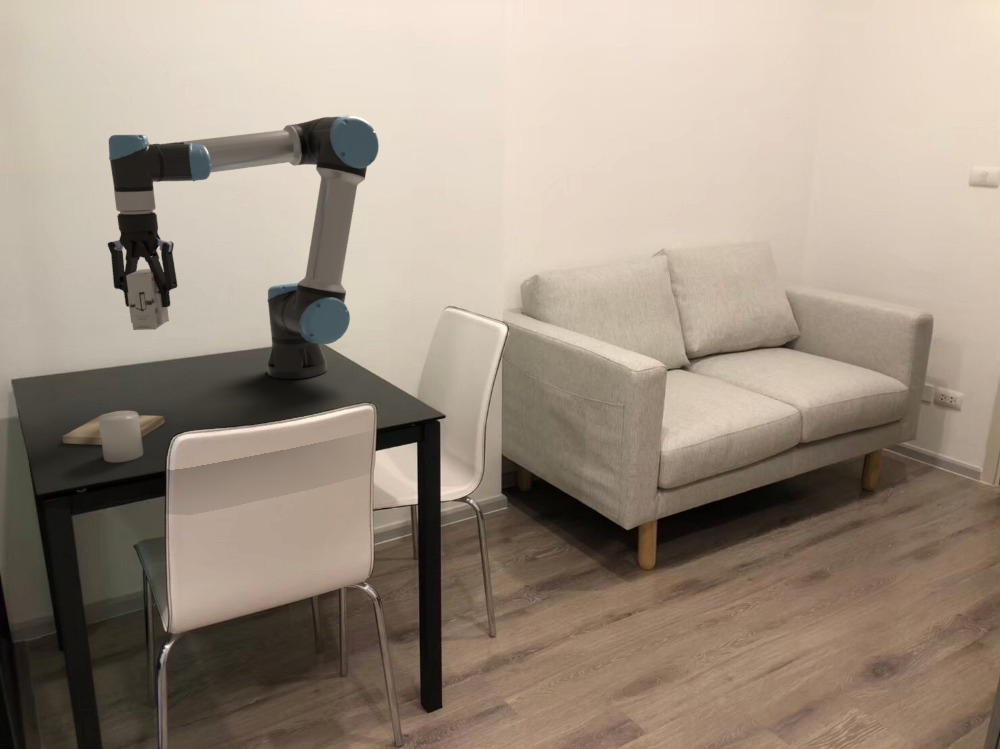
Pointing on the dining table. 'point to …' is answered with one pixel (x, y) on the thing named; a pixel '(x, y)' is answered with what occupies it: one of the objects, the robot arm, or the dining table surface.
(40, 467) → the dining table surface
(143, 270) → the ink box
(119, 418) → the white frosted cylinder
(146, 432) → the birch board
